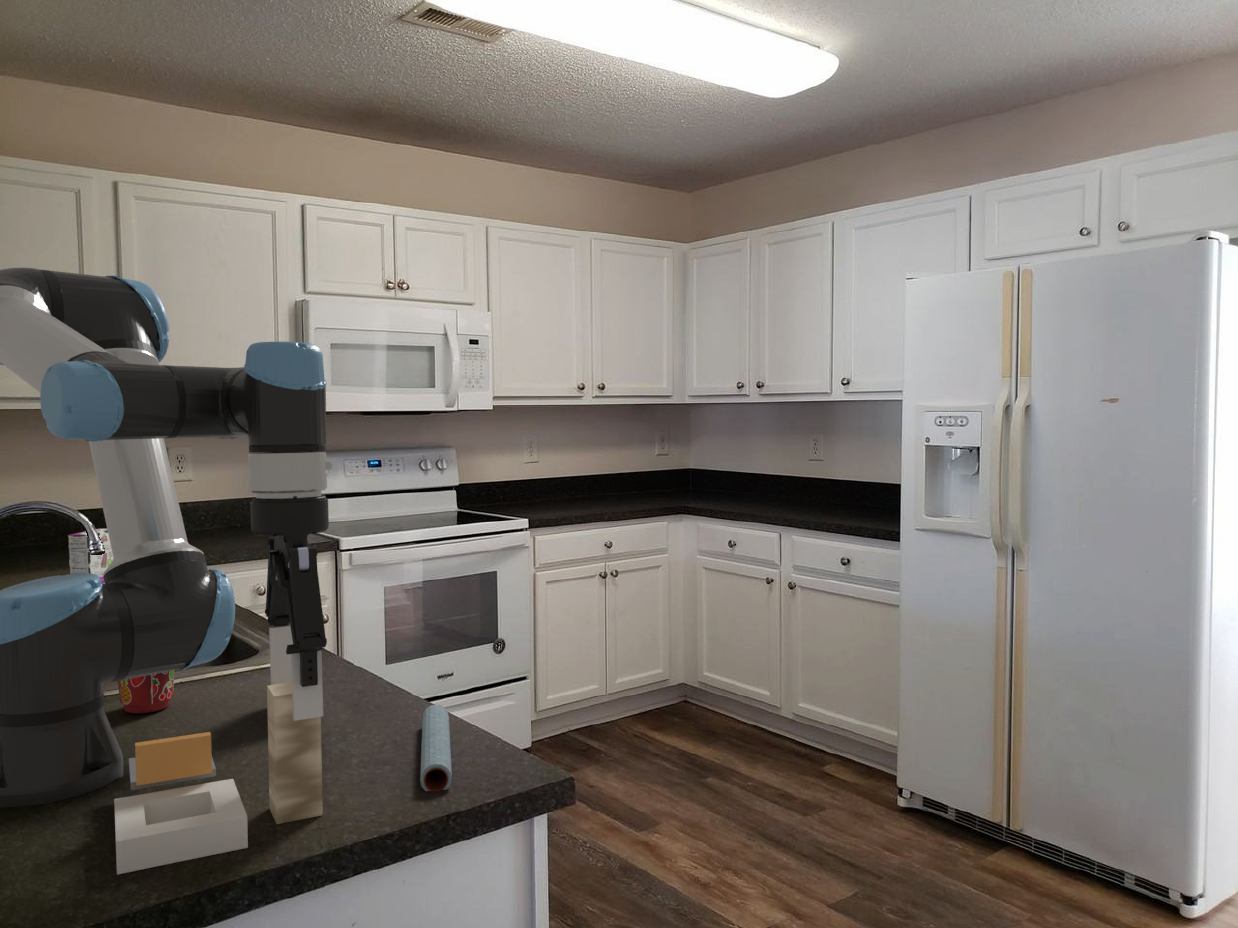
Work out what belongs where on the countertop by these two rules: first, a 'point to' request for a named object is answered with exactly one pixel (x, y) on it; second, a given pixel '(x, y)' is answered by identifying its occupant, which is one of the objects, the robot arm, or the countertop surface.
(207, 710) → the countertop surface
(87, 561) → the candy bar box
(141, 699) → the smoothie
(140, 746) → the shutter
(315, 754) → the peg
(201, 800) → the socket
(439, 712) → the aluminum foil
